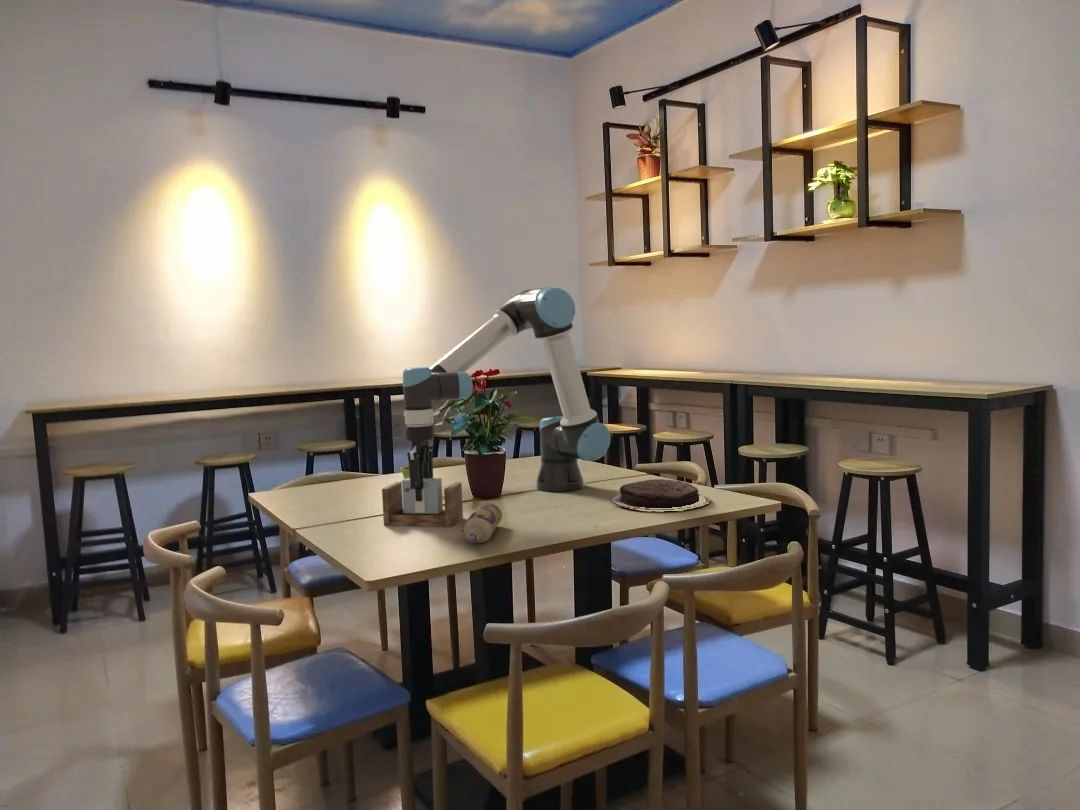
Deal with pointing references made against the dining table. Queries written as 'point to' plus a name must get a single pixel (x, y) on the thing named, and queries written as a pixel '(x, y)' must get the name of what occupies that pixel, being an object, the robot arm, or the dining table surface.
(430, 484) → the door panel
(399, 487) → the track
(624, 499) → the chocolate cake
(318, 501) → the dining table surface
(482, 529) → the decorative bottle
